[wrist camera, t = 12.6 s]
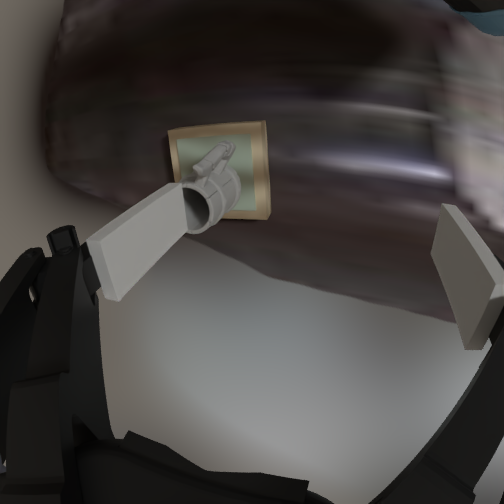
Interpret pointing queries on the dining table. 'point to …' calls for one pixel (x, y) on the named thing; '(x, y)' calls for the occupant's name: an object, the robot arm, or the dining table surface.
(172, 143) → the stand
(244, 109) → the dining table surface
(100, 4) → the dining table surface
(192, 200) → the mug
